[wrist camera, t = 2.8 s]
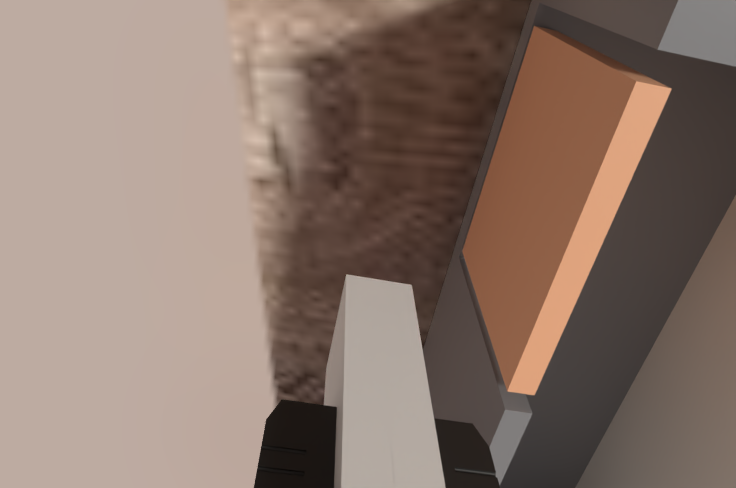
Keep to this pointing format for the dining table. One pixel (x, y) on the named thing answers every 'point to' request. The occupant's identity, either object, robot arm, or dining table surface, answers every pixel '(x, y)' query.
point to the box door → (554, 194)
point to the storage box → (624, 283)
